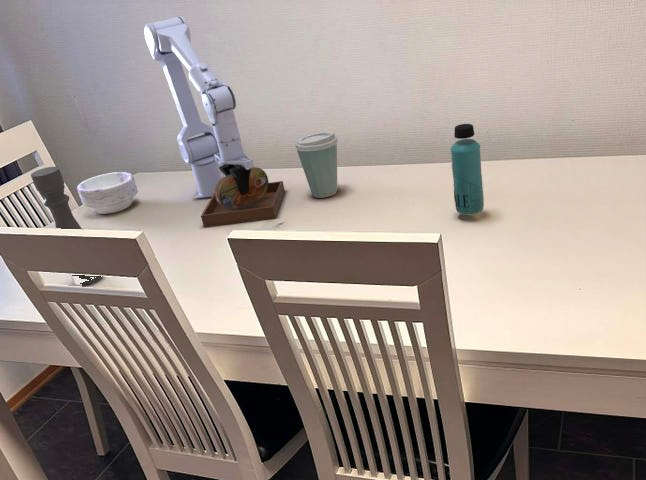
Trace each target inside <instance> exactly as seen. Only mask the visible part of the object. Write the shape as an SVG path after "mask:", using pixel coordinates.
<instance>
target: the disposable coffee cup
mask: <svg viewBox="0 0 646 480" xmlns="http://www.w3.org/2000/svg"><path fill="white" fill-rule="evenodd" d="M338 142H339V140H338V137H337V136H336V135H335V132H334V131H330V130H329V131H328V130H327V131H320V132H315V133H311V134H308V135H304V136H303V137H300V138H299V139H298V140H297V141H296V143H295V149H296V151H297V154H298V157H299V161H300V164H301V166H302V169H303V172H304V175H305V178H306V181H307V184H308V187H309V190H310V193H311V194H312V196H313V197H314V198H319V199H321V198H328V197H332V196H334V195H336V194H337V192H338Z"/></svg>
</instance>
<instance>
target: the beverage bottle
mask: <svg viewBox="0 0 646 480" xmlns="http://www.w3.org/2000/svg"><path fill="white" fill-rule="evenodd" d="M453 135H454V138H455V139H458V140H457V141H455V142H454V143H453V144H452V145H451V147H450V154H451V170H452V180H453V185H452V186H453V199H454V202H453V203H454V208H455V211H456V212H457V213H458V214H460V215H474V214H479V213H480V212H482V211H483V210H484V206H485V201H484V198H485V197H484V196H485V194H484V186H483V183H484V182H483V174H482V160H481V159H482V158H481V157H482V156H481V144H480V143H479V142H478V141H476V140H475V139H473V138H472V137H474V136H475V129H474V125H473V124H472V123H461V124H457V125H456V126H455V127H454V133H453Z"/></svg>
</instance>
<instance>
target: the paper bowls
mask: <svg viewBox="0 0 646 480" xmlns="http://www.w3.org/2000/svg"><path fill="white" fill-rule="evenodd" d="M76 189H77V190H76V191H77V192H78V195H79V198H80V201H81V203H82V205H83V206H84V207H86V208H91V209H92V210H93V211H94V212H95V213H97V214H100V215H101V214H102V215H106V214H107V215H108V214H114V213H118V212H121V211H124V210H125V209H127V208H129V207H130V206H131V205H133V204H132V203H133V199H134V197H136V195H137V194H138V192H139V191H138V187H137V184H136V181H135V177H134V175H133V173H130V172H128V171H127V172H126V171H115V172H109V173H103V174H99V175H96V176H92V177H90V178H88V179H85V180H83V181H82V182H80V183H79V184H78V185H77V187H76Z"/></svg>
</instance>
